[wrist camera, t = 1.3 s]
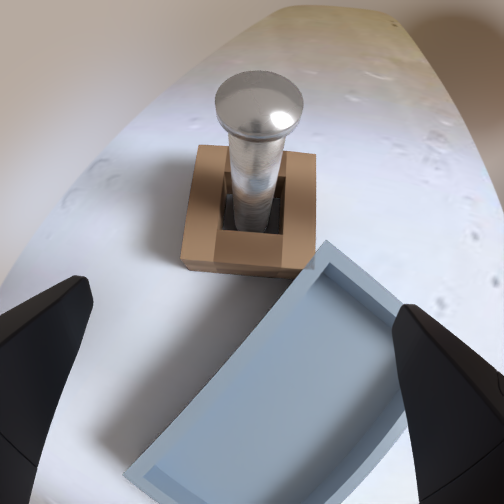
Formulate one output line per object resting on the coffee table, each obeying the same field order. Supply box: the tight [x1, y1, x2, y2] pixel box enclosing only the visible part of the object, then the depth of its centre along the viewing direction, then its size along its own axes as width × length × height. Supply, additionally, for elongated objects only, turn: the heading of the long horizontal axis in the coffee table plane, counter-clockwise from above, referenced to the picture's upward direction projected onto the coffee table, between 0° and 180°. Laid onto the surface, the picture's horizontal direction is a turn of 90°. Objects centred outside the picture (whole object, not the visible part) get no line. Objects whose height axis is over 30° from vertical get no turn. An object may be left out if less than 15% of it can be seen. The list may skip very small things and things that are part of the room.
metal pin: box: [215, 71, 303, 233], centre depth 17 cm, size 3×3×13 cm
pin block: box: [180, 145, 316, 279], centre depth 21 cm, size 8×8×4 cm
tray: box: [123, 240, 408, 504], centre depth 18 cm, size 20×12×4 cm, turn 140°
